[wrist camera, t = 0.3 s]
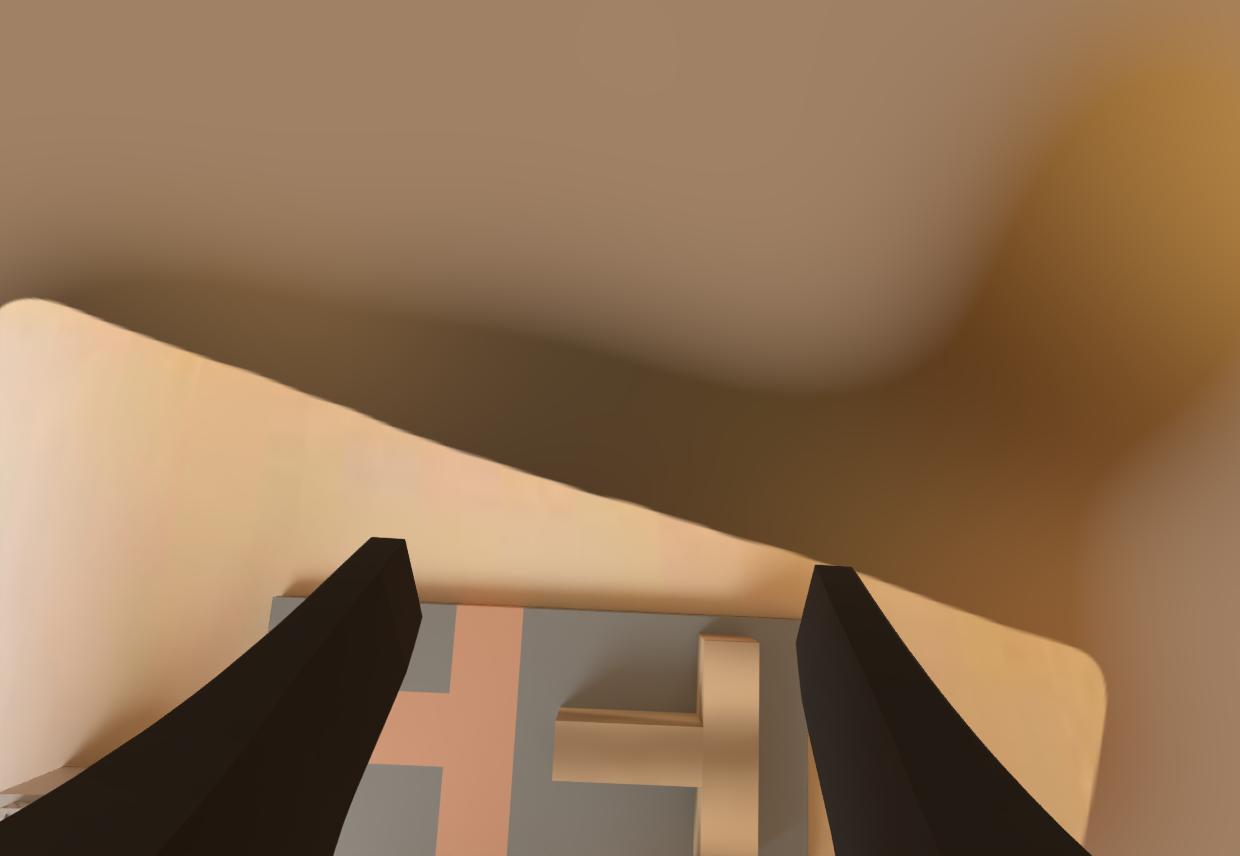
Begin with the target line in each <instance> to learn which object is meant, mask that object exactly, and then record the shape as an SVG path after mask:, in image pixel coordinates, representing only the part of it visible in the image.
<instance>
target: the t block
mask: <svg viewBox="0 0 1240 856" xmlns="http://www.w3.org/2000/svg"><path fill="white" fill-rule="evenodd" d="M552 781H570V782H593V783H616V784H639V785H662V786H685V787H695V796H694V840H693V855H694V856H758V782H759V642H757V641H756V640H754V639H752V638H751V637H749V636H742V635H720V634H698V665H697V708H696V713H677V712H654V711H631V710H609V709H586V708H563V707H560V708H559V711H558V714H557V718H556V721H555V737H554V755H553V772H552Z"/></svg>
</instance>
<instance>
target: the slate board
mask: <svg viewBox="0 0 1240 856" xmlns="http://www.w3.org/2000/svg"><path fill="white" fill-rule="evenodd" d="M306 598H307V597H296V596H277V597H273V600H272V608H271V615H270V623H269V630H268V633H269V632H270V631H271V630H272V629H273V628H274V627H276V626H277V625H278V624H279V623H280V622H281V621H282V620H283V619H284V618H285V617H287V616H288V615H289V614H290V613H291V612H292V611H293V610H294V609H295V608H296V607H297V606H299V605H300V604H301V603H302V602H303V601H304V600H305V599H306ZM419 603H420V607H421V612H422V616H423V617H422V621H421V625H420V628H419V632H418V636H417V639H416V643H415V646H414V650H413V653H412V656H411V660H410V663H409V666H408V670H407V673H406V675H405V677H404V680H403V682H402V685H401V687H400V690H399V692H398V694H397V697H396V699H395V702H394V704H393V706H392V709H391V711H390V713H389V716H388V718H387V720H386V723H385V725H384V727H383V730H382V732H381V735H380V737H379V739H378V742H377V744H376V746H375V749H374V751H373V753H372V756H371V758H370V760H369V763H368V765H367V767H366V770H365V772H364V774H363V777H362V779H361V781H360V784H359V786H358V788H357V791H356V793H355V795H354V798H353V801H352V803H351V806H350V809H349V811H348V814H347V816H346V819H345V822H344V824H343V827H342V831H341V834H340V837H339V840H338V843H337V846H336V849H335V852H334V855H333V856H694V855H693V840H694V796H695V787H685V786H662V785H639V784H616V783H593V782H570V781H552V772H553V755H554V737H555V721H556V718H557V714H558V711H559V708H560V707H563V708H586V709H609V710H631V711H654V712H677V713H696V708H697V665H698V634H720V635H742V636H749V637H751V638H752V639H754V640H756V641H757V642H759V782H758V856H808V776H807V723H806V718H805V714H804V709H803V704H802V699H801V690H800V682H799V673H798V662H797V652H796V639H797V635H798V631H799V627H800V623H801V619H786V618H763V617H741V616H719V615H697V614H674V613H652V612H630V611H608V610H585V609H563V608H541V607H519V606H496V605H474V604H452V603H429V602H419Z"/></svg>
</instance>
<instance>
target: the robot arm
mask: <svg viewBox="0 0 1240 856" xmlns="http://www.w3.org/2000/svg"><path fill="white" fill-rule="evenodd" d="M422 617H423V616H422V612H421V607H420V603H419V598H418V594H417V590H416V585H415V581H414V576H413V572H412V568H411V563H410V559H409V554H408V550H407V546H406V541H405V539H394V538H378V537H371V538H370V539H369V540H368V541H367V542H366V543H365V544H363V545H362V546H361V547H360V548H359V549H358V550H357V551H356V552H355V553H354V554H353V555H352V556H351V557H350V558H349V559H347V560H346V561H345V562H344V563H343V564H342V565H341V566H340V567H339V568H338V569H337V570H336V571H335V572H334V573H333V574H332V575H331V576H330V577H329V578H328V579H326V580H325V581H324V582H323V583H322V584H321V585H320V586H319V587H318V588H317V589H316V590H315V591H314V592H313V593H312V594H311V595H310V596H308V597H307V598H306V599H305V600H304V601H303V602H302V603H301V604H300V605H299V606H297V607H296V608H295V609H294V610H293V611H292V612H291V613H290V614H289V615H288V616H287V617H285V618H284V619H283V620H282V621H281V622H280V623H279V624H278V625H277V626H276V627H274V628H273V629H272V630H271V631H270V632H269V633H268V634H267V635H265V636H264V637H263V638H262V639H261V640H260V641H258V642H257V643H256V644H255V645H254V646H252V647H251V648H250V649H249V650H248V651H246V652H245V653H244V654H243V655H242V656H241V657H239V658H238V659H237V660H236V661H235V662H233V663H232V664H231V665H230V666H229V667H227V668H226V669H225V670H224V671H223V672H222V673H220V674H219V675H218V676H217V677H215V678H214V679H213V680H211V681H210V682H209V683H208V684H206V685H205V686H204V687H203V688H201V689H200V690H199V691H197V692H196V693H195V694H194V695H192V696H191V697H190V698H188V699H187V700H186V701H184V702H183V703H182V704H180V705H179V706H178V707H176V708H175V709H173V710H172V711H171V712H169V713H168V714H167V715H165V716H164V717H163V718H161V719H160V720H158V721H157V722H156V723H154V724H153V725H151V726H150V727H149V728H147V729H146V730H144V731H143V732H141V733H140V734H138V735H137V736H135V737H134V738H132V739H131V740H129V741H128V742H126V743H125V744H123V745H122V746H120V747H119V748H117V749H116V750H114V751H113V752H111V753H110V754H108V755H107V756H105V757H104V758H102V759H101V760H99V761H98V762H96V763H94V764H93V765H91V766H90V767H88V768H87V769H85V770H84V771H82V772H81V773H79V774H78V775H76V776H75V777H73V778H72V779H70V780H68V781H67V782H65V783H64V784H62V785H60V786H59V787H57V788H55V789H54V790H52V791H50V792H49V793H47V794H46V795H44V796H42V797H41V798H39V799H37V800H36V801H34V802H32V803H31V804H29V805H27V806H26V807H24V808H22V809H21V810H19V811H17V812H15V813H14V814H12V815H10V816H8V817H7V818H5V819H3V820H2V821H0V856H333V855H334V852H335V849H336V846H337V843H338V840H339V837H340V834H341V831H342V827H343V824H344V822H345V819H346V816H347V814H348V811H349V809H350V806H351V803H352V801H353V798H354V795H355V793H356V791H357V788H358V786H359V784H360V781H361V779H362V777H363V774H364V772H365V770H366V767H367V765H368V763H369V760H370V758H371V756H372V753H373V751H374V749H375V746H376V744H377V742H378V739H379V737H380V735H381V732H382V730H383V727H384V725H385V723H386V720H387V718H388V716H389V713H390V711H391V709H392V706H393V704H394V702H395V699H396V697H397V694H398V692H399V690H400V687H401V685H402V682H403V680H404V677H405V675H406V673H407V670H408V666H409V663H410V660H411V656H412V653H413V650H414V646H415V643H416V639H417V636H418V632H419V628H420V625H421V621H422ZM796 652H797V662H798V673H799V682H800V690H801V699H802V704H803V709H804V714H805V718H806V723H807V727H808V732H809V736H810V741H811V746H812V750H813V755H814V759H815V763H816V768H817V772H818V777H819V781H820V786H821V790H822V795H823V799H824V803H825V808H826V812H827V817H828V821H829V826H830V830H831V835H832V840H833V846H834V851H835V856H1092V855H1091V854H1090V853H1089V852H1087V851H1086V850H1085V849H1084V848H1083V847H1082V846H1081V845H1080V844H1079V843H1078V842H1077V841H1076V840H1075V839H1074V838H1073V837H1072V836H1070V835H1069V834H1068V833H1067V832H1066V831H1065V830H1064V829H1063V828H1062V827H1061V826H1060V825H1059V824H1058V823H1057V822H1056V821H1055V820H1054V819H1053V818H1052V817H1051V816H1050V815H1049V814H1048V813H1047V812H1046V811H1045V810H1044V809H1043V808H1042V807H1041V805H1040V804H1039V803H1038V802H1037V801H1036V800H1035V799H1034V798H1033V797H1032V796H1031V795H1030V794H1029V793H1028V792H1027V791H1026V790H1025V789H1024V788H1023V787H1022V786H1021V785H1020V784H1019V782H1018V781H1017V780H1016V779H1015V778H1014V777H1013V776H1012V775H1011V774H1010V773H1009V772H1008V771H1007V770H1006V768H1005V767H1004V766H1003V765H1002V764H1001V763H1000V762H999V761H998V760H997V758H996V757H995V756H994V755H993V754H992V753H991V752H990V751H989V749H988V748H987V747H986V746H985V745H984V744H983V743H982V741H981V740H980V739H979V738H978V737H977V736H976V734H975V733H974V732H973V731H972V730H971V728H970V727H969V726H968V725H967V724H966V722H965V721H964V720H963V719H962V718H961V716H960V715H959V714H958V713H957V711H956V710H955V709H954V708H953V707H952V705H951V704H950V703H949V702H948V700H947V699H946V698H945V697H944V695H943V694H942V693H941V692H940V690H939V689H938V688H937V686H936V685H935V684H934V683H933V681H932V680H931V679H930V677H929V676H928V675H927V673H926V672H925V671H924V669H923V668H922V667H921V665H920V664H919V663H918V661H917V660H916V659H915V657H914V656H913V655H912V653H911V652H910V651H909V649H908V648H907V646H906V645H905V644H904V642H903V641H902V639H901V638H900V637H899V635H898V634H897V632H896V631H895V630H894V628H893V627H892V625H891V624H890V622H889V621H888V619H887V618H886V617H885V615H884V614H883V612H882V611H881V609H880V608H879V606H878V605H877V603H876V602H875V600H874V599H873V597H872V596H871V594H870V593H869V591H868V590H867V588H866V587H865V585H864V584H863V582H862V581H861V579H860V578H859V576H858V575H857V573H856V572H855V571H854V570H853V569H852V567H843V566H827V565H815V567H814V571H813V575H812V579H811V583H810V587H809V591H808V595H807V599H806V603H805V607H804V611H803V615H802V619H801V623H800V627H799V631H798V635H797V639H796Z"/></svg>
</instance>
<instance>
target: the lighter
mask: <svg viewBox="0 0 1240 856" xmlns="http://www.w3.org/2000/svg"><path fill="white" fill-rule="evenodd" d="M87 768H88V767H61V768H59V769H56V770H54V771H52V772H49V773H47V774H44V775H42V776H39V777H37V778H34V779H32V780H29V781H27V782H24V783H22V784H19V785H17V786H14V787H12V788H9V789H7V790H4V791H2V792H0V821H2V820H3V819H5V818H7V817H8V816H10V815H12V814H14V813H15V812H17V811H19V810H21V809H22V808H24V807H26V806H27V805H29V804H31V803H32V802H34V801H36V800H37V799H39V798H41V797H42V796H44V795H46V794H47V793H49V792H50V791H52V790H54V789H55V788H57V787H59V786H60V785H62V784H64V783H65V782H67V781H68V780H70V779H72V778H73V777H75V776H76V775H78V774H79V773H81V772H82V771H84V770H85V769H87Z"/></svg>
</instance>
